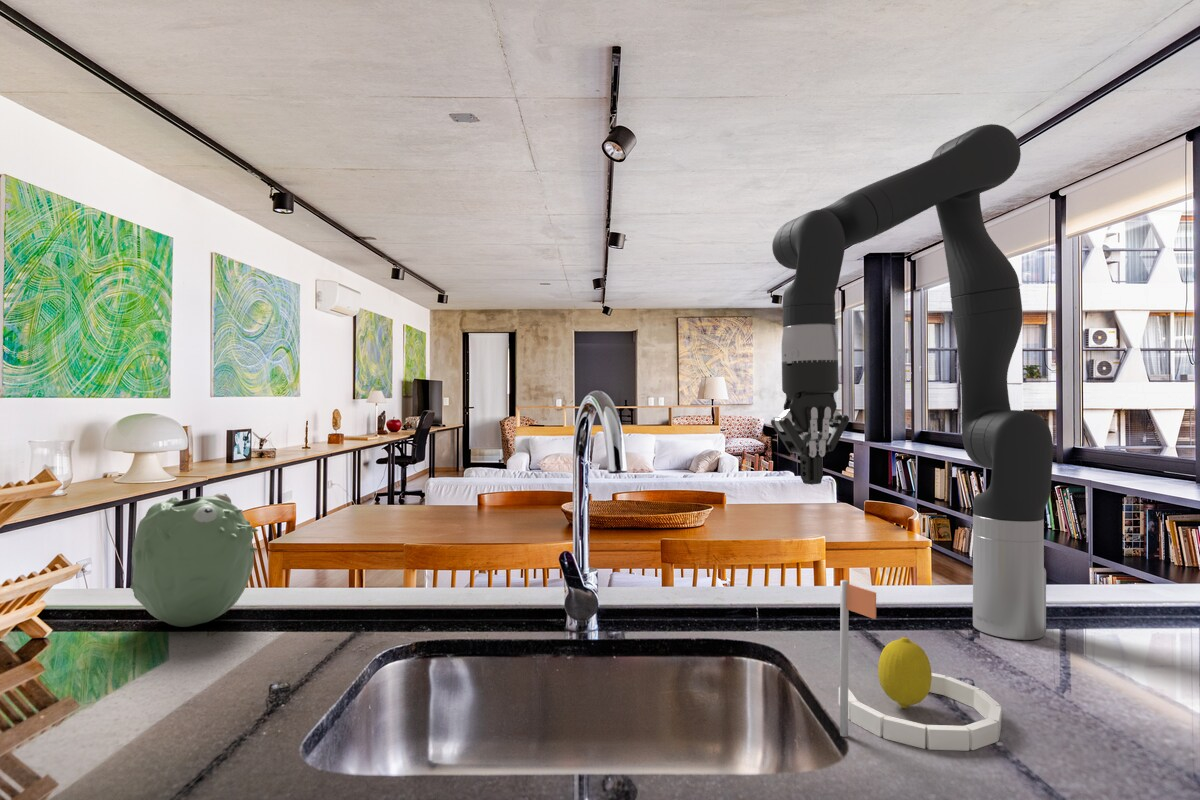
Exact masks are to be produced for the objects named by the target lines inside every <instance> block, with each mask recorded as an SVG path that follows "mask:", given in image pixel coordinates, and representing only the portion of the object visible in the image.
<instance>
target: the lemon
mask: <svg viewBox="0 0 1200 800" xmlns="http://www.w3.org/2000/svg"><path fill="white" fill-rule="evenodd" d="M877 670H878V671H877V672H878V674H877V675H878V679H879V680H878V681H879V683H880V686H881V687H880V688H882V690H883V692H884V693H885V695H886V696H888V697H887V698H890V699H891V700H892V701H894V702H896V703H897V704H898V705H899V706H900V707H901V708H902V709H909V708H910V707H911V706H912V705H916V704H919V703H921V702H922V701H924V700H925V698H926V697H927V696H928V695H929V693H930V692H929V690H930V687H931V680H932V673H933V672H932V668H931V663H930V659H929V657H928V656H927V653H926V652H925V650H923V648H922V647H921V646H920V645H919V644H917V643H916V642H913V641H912V640H910V639H909V638H908V637H905V636H902V637H900V638H899V639H895V640H892V641H890V642H888V644H886V645H885V646H884V648H883V649H882V651H881V654H880V656H879V659H878V667H877Z"/></svg>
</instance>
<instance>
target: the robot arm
mask: <svg viewBox="0 0 1200 800" xmlns="http://www.w3.org/2000/svg"><path fill="white" fill-rule="evenodd" d="M1021 156H1022V153H1021V145H1020V143H1019V140H1018V138H1017V136H1016V135H1015V134H1014V133H1013V132H1012V131H1011V130H1010V129H1009V128H1008V127H1005V126H1003V125H1000V124H995V123H994V124H993V123H988V124H984V125H980V126H976V127H973V128H972V129H970V130H968V131H965V133H964V132H963V133H962V134H960V135H958V136H956V137H954V138H953V139H950V140H948V141H947V142H944V143H942V144H941V145H940V146H938V147H937V148H936V149H935V151H934V152H933V154H932V156H931V159H929V160H926V161H924V162H922V163H919V164H917V165H915V166H913V167H910V168H908V169H905V170H902V171H900V172H898V173H895V174H892V175H890V176H888V177H885V178H882V179H880V180H878V181H875V182H872V183H871V184H867V185H866V186H864V187H861V188H859V189H857V190H855V191H853V192H850V193H848V194H846V195H845V196H843V197H841V198H840V199H838V200H835V202H832V203H831V204H829V205H827V206H825V207H823V208H820V209H814V210H811V211H808V212H806V213H804V214H802V215H800V216H798V217H796V218H793V219H791V220H790V221H788V222H785V223H784V224H783V225H781V227H779V228H778V230H777V231H776V232H775V235H774V237H773V240H772V246H771V247H772V255H773V256H774V258H775V260H776V261H777V263H779V264H780V265H781V266H783V267H785V268H786V269H790V270H795V276H794V280H793V282H792V283H790V284H789V286H787V287H786V288H785V290H784V292H783V296H782V336H781V383H782V384H781V387H782V388H781V390H782V392H783V393H784V394H785V402H784V404H783V411H782V413H781V414H780V415H779V416H777V417H772V418H771V419H770V424H771V426H772V428H773V429H774V431H775V433H776V434H777V435H778V437H779V439H780V440H781V442H782V443H783V445H784V446H785V448H786V449H787V451H788V452H789V453H792V454H796V455H797V456H798V457H799V458H800V460H799V461H800V462H799V463H800V479H801V480H802V483H803V484H805V485H811V486H812V485H821V484H822V481H823V478H824V459H823V458H824V457H825V455H826V453H829V452H834V450H835V448H836V446H837V444H838V443H839V441H840V439H841V437H842V436H843V434H844V431H845V430H846V427H847V426H848V424H849V422H850V416H848V415H847V414H845V415H844V414H841V413H840V411H838V409H837V402H836V400H835V393H837V392H838V391H839V386H840V385H839V342H838V335H837V328H836V326H837V325H836V291H837V287H838V284H839V280H840V277H841V276H840V275H841V272H842V271H841V270H842V266H843V262H844V261H843V260H844V257H845V248H847V247H851V246H853V245H857V244H860V243H864V242H866V241H867V240H870V239H872V238H875V237H876V236H879V235H880V234H883V233H884V232H887V231H889V230H891V229H893V228H895V227H896V226H899V225H901V224H903V223H904V222H906V221H908V220H910V219H912V218H914V217H915V216H918V215H919V214H921V213H923V212H925V211H927V210H928V209H930V208H932V207H934V206H935V208H936V213H937V217H938V222H939V225H940V229H941V235H942V240H943V246H944V247H943V248H944V253H945V259H946V260H945V261H946V266H947V273H948V274H947V275H948V279H949V280H948V281H949V282H948V283H949V292H950V293H949V294H950V302H951V311H952V316H953V318H952V319H953V325H954V329H955V337H956V344H957V345H956V346H957V356H958V365H959V367H958V368H959V373H960V374H959V375H960V385H961V386H960V387H961V388H960V389H961V394H960V395H961V439H962V444H963V447H964V450H965V453H966V455H967V456H968V458H969V459H970V460H971V461H972V462H973V463H975V465H978V466H979V467H981V468H986V469H991V476H990V477H991V478H990V484H989V486H988V487H987V489H986V490H985V491H982V492H980V493H978V494H976V495H975V496H974V498H973V500H972V501H973V503H972V533H973V534H972V626H973V627H974V629H976V630H977V631H979V632H982V633H984V634H986V635H990V636H993V637H999V638H1003V639H1009V640H1023V641H1029V640H1030V641H1032V640H1038V639H1041V638H1043V637H1044V633H1045V632H1046V631H1047V570H1046V568H1045V566H1044V565H1045V564H1044V563H1045V562H1044V561H1045V559H1044V557H1045V552H1044V551H1045V550H1044V549H1045V547H1044V546H1045V543H1044V540H1045V539H1044V538H1045V536H1044V535H1045V534H1044V532H1045V531H1044V530H1045V529H1044V528H1045V527H1044V524H1045V523H1044V522H1045V520H1044V519H1045V508H1046V507H1047V505H1048V502H1049V500H1050V497H1051V491H1052V477H1053V476H1052V475H1053V459H1054V444H1053V443H1054V442H1053V435H1052V431H1051V429H1050V427H1049V424H1048V423H1047V421H1046V420H1045V419H1044V418H1043V417H1042V416H1041V415H1040V414H1038V413H1035V412H1033V411H1029V410H1018V409H1017V410H1016V409H1013V410H1012V409H1011V403H1010V396H1009V389H1008V373H1009V367H1010V363H1011V361H1012V357H1013V355H1014V352H1015V349H1016V347H1017V343H1018V341H1019V339H1020V338H1019V337H1020V335H1021V332H1022V326H1023V318H1024V316H1023V314H1024V313H1023V305H1022V294H1021V289H1020V281H1019V276H1018V274H1017V272H1016V270H1015V268H1014V266H1013V264H1011V262H1010V261H1009V259H1008V257H1006V255H1005V254H1004V253H1003V252H1002V250H1001V249H1000V248H999V247H998V245H997V244H996V243H995V241H993V239H992V238H991V236H990V234H989V233H988V231H987V228H986V225H985V223H984V218H983V212H982V205H981V194H982V193H985V192H987V191H990V190H992V189H994V188H996V187H999V186H1000V185H1002V184H1004V183H1005V182H1007V181H1008V180H1009V179H1010V178H1011V177H1012V176H1014V174H1015V172H1016V171H1017V170H1018V167H1019V165H1020V161H1021Z"/></svg>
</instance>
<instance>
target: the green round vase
mask: <svg viewBox="0 0 1200 800" xmlns="http://www.w3.org/2000/svg"><path fill="white" fill-rule="evenodd" d="M258 531H259V530H258V529H257V528H254V527H253V525H251V523H250V521H249V520H247V519H246V518H245V516H244V514H243V509H239V508H238V507H237V506H236V505H234V504H233V503H232V499H231V498H230V496H229V495H228V494H226V493H216V494H214V495H213V496H197V497H193V498H187V499H181V500H180V499H179V498H177V497H175V496H173V497H170V498H169V499H168V500H165V501H162V502H158V503H157V502H156V503H155V504H153V505H151V506H150V507H149V509H148V510H147V511H146V513H145V516H143V518H142V519H141V520H140V521H139V523H138V526H137V529H136V532H135V538H134V541H133V545H132V549H131V551H132V552H131V556H132V557H131V566H132V568H133V571H132V572H133V573H132V580H131V581H132V584H131V585H130V587H129V588H130V589H131V590H132V592H133V597H134V599H136V601H137V602H138V603H140V604H141V605H142V606H143V607H144V609H145V610H146V611H147V612H148V613H149V614H150V615H151V616H152V617H154V618H155V619H157V620H159V621H161V622H165V623H166V624H168V625H171V626H175V627H178V628H179V627H180V628H187V627H193V626H197V625H201V624H206V623H209V622H211V621H213V620H215V619H217V618H219V617H220V616H222V615H223V614H225V613H226V612H228V611H229V610H230V609H231V608H232V607H234V606H235V604H237V602H238V601H239V599H240V598H241V597H242V594H243V593H244V592H245V589H246V588H247V586H248V583H249V580H250V577H251V574H252V572H253V568H254V565H255V564H254V562H255V557H254V556H255V555H254V552H255V551H258V550H259V548H258V547H255V546H253V540H254V533H256V532H258Z"/></svg>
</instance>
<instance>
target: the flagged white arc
mask: <svg viewBox="0 0 1200 800" xmlns="http://www.w3.org/2000/svg"><path fill="white" fill-rule="evenodd" d="M839 581H840V584H839V585H840V590H839V591H840V593H839V594H840V601H839V602H840V607H839V609H840V610H839V611H840V614H839V615H840V616H839V617H840V618H839V619H840V620H839V623H840V625H839V626H840V629H839V632H840V633H839V634H840V635H839V637H840V638H839V639H840V640H839V641H840V643H839V646H840V647H839V651H840V653H839V655H840V656H839V668H840V669H839V675H840V676H839V678H840V679H839V686H838V706H839V736H840V737H843V738H848V736H849V721H850V722H851V723H853V724H855V725H856V726H859V727H860V728H862V729H864V730H866V731H867V732H870V733H872V734H873V735H875V736H877V737H879V738H881V737H883V738H882V739H885V740H887V741H888V740H889V741H893V742H895V743H896V742H897V743H900V744H904V745H908V746H913V747H915V748H916V747H917V748H920V749H924V750H925V749H926V748H927V749H928V750H930V751H931V750H933V751H963V752H965V751H968V752H969V751H970V750H971V751H974V750H978V749H980V748H983V747H986V746H990V745H991V744H995V743H997V742H998V741H999V740H1000V734H1001V729H1002V706H1001V704H999V703H998V702H997V701H996V700H995V699H994V698H992V697H991V696H990V695H989V694H988V693H987V692H985V691H984V689H983V690H982V689H981V688H979V687H977V686H974V685H971V684H970V683H967V682H964V681H961V680H959V679H956V678H954V677H952V676H947V675H944V674H939V673H936V672H931V673H932V680H931V687H930V690H929V693H933V694H937V695H942V696H945V697H946V698H947V697H948V698H950V699H953V700H955V701H957V702H959V703H961V704H964V705H966V706H969V707H971V708H973V709H974V710H975V711H977V712H978V713H979V715H981V716H982V717H983V719H980V720H978V721H975V722H972V723H969V724H966V725H965V724H964V725H952V724H951V725H950V724H949V725H946V724H944V725H942V724H941V725H940V724H925V723H920V722H915V721H911V720H907V719H902V718H898V717H895V716H894V717H893V716H891V715H887V714H884V713H882V712H880V711H878V710H876V709H874V708H872V707H871V706H868V705H866V704H864V703H862V702H861V701H859V700H858V699H857V698H856V696H855V695H854V694H853V692H852V691H851V690H850V688H849V622H850V621H849V615H850V613H849V611H850V612H853V613H856V614H859V615H863V616H865V617H868V618H871V619H873V620H876V619H877V592H876V591H872V590H870V589H867V588H862V587H860V586H857V585H853V584H851V583H849V580H846V579H841V580H839Z"/></svg>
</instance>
